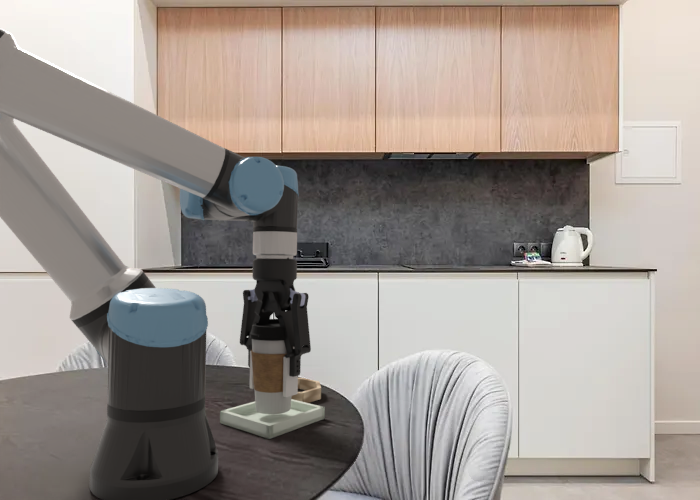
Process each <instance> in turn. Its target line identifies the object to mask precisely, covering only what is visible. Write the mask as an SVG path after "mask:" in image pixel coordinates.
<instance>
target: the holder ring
mask: <svg viewBox="0 0 700 500" xmlns="http://www.w3.org/2000/svg"><path fill="white" fill-rule="evenodd" d="M298 390H302V391H298V394H296V395H293V396H292V397H291V399H293V400H297V401H302V402H306V403H310V404H311V403H313V402H315V401H318V400H321V399H322V386H321V383H320V381H319V380H314V379H309V378H304V377H298Z"/></svg>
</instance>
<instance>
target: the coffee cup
mask: <svg viewBox="0 0 700 500" xmlns="http://www.w3.org/2000/svg"><path fill="white" fill-rule="evenodd" d="M257 324H258V323H256V322H255V323H253V325H252V331H251V332H250V336H249V338H251V339H252V350H251V355H252V367H253V380H254V389H253V390H254V401H255V408H256V411H257V412H259V413H262V414H281V413H285V412H288V411H289V410H290V408H291V397H292V396H289V397H283V358H284V357H285V356H284V355H286V354H287V351H286V347H285V343H284V340H285V333H284V327H282V326H281V327H280V324H279V320H278V318H270V319H269V322H268V324H266V325H261V326H258V325H257ZM293 349H295V348H294V347H293Z"/></svg>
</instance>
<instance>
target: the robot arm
mask: <svg viewBox="0 0 700 500" xmlns="http://www.w3.org/2000/svg"><path fill="white" fill-rule="evenodd" d="M14 119H15V120H16V121H19V122H21V123H24V124H26V125H28V126H30V127H34V128H36V129H38V130H40V131H43V132H46V133H47V134H50V135H53V136H55V137H57V138H60V139H62V140H65V141H67V142H69V143H71V144H73V145H75V146H79V147H81V148H83V149H86V150H88V151H89V152H90V151H91V152H93V153H95V154H98V155H100V156H103V157H105V158H107V159H109V160H112V161H114V162H116V163H118V164H122V165H124V166H126V167H128V168H131V169H133V170H134V171H135V170H136V171H138V172H140V173H143V174H144V175H147V176H150V177H152V178H155V179H156V180H159V181H161V182H164V183H167V184H168V185H171V186H174V187H175V188H178V189H179V205H180V210H181V213H182V214H183V216H184V217H185V218H188V219H194V220H195V219H197V220H202V221H207V220H210V221H229V222H230V221H232V222H233V221H237V222H240V221H241V222H247V223H248V222H252V226H253V229H252V231H253V233H252V255H253V256H255V257H256V258H254V259H253V260H252V279H253V280H254V281H255V282H256V284H255V287H254V288H253V289H243V291H242V298H243V307H242V308H243V309H242V318H241V325H240V326H241V327H240V335H239V337H240V338H239V344H240V345H241V346H245V347H246V350H247V351H248V353H247V354H248V355H247V359H248V360H247V366H248V368H249V389H251V390H254V380H253V367H252V355H251V350H252V339H251V338H249V336H250V332H251V331H252V325H253V323H255V322H256V323H258V324H257V325H258V326H261V325H266V324H268V322H269V319H271V316H272V315H273V314H274V317H275V319H278V320H279V324H280V327H281V326H282V327H284V333H285V340H284V343H285V347H286V351H287V354H286V355H284V356H285V357H284V358H283V397H289V396H293V395H296V394H298V392H299V389H298V378H299V376H300V375H301V363H302V362H301V361H302V360H301V357H302V355H305V354H309V353H310V352H311V349H312V348H311V338H310V326H309V325H310V324H309V315H308V304H309V303H308V301H309V293H307V292H298V291H296V288H295V286H294V281H296V280H297V278H298V276H297V275H298V261H297V259H295V258H294V256H297V254H298V253H297V252H298V251H297V250H298V206H299V205H298V203H299V201H298V200H299V195H300V193H299V182H298V173H297V172H296V170H295V169H293V168H291V167H288V166H285V165H276V164H275V163H274V162H273V161H272V160H269V159H268V158H265V157H262V156H247V157H245V156H243V155H240V154H238V153H237V152H235V151H232V150H229V149H228V148H225V147H223V146H220V145H219V144H217V143H214V142H213V141H211V140H209V139H207V138H204V137H203V136H201V135H198V134H196V133H194V132H192V131H190V130H188V129H186V128H184V127H182V126H180V125H178V124H176V123H174V122H171V121H169V120H168V119H165V118H164V117H162V116H159V115H158V114H156V113H154V112H151V111H149V110H147V109H145V108H143V107H141V106H139V105H137V104H135V103H134V102H131V101H129V100H127V99H125V98H122V97H121V96H118V95H117V94H114V93H112V92H111V91H108V90H106V89H104V88H102V87H100V86H98V85H96V84H94V83H92V82H91V81H88V80H86V79H84V78H82V77H79V76H77V75H75V74H74V73H72V72H70V71H68V70H67V69H66V70H65V68H64V69H63V68H61V67H59V66H58V65H55V64H54V63H51V62H50V61H48V60H45V59H43V58H41V57H39V56H38V55H35V54H33V53H31V52H30V51H27V50H25V49H23V48H21V47H20V46H19V45H18V43H17V41H16V39H15V37H14V35H13V34H12V33H11V32H9V31H8V30H6V29H3V28H1V27H0V218H1V220H2V221H3V222H4V223H5V225H6V226H7V227H8V228H9V230H10V231H11V232H12V233H13V234H14V235H15V237H16V238H17V239H18V240H19V241H20V243H21V244H22V245H23V246H24V248H25V249H26V250H27V251H28V252H29V253H30V255H32V257H33V258H34V259H35V261H36V262H37V263H38V264H39V265H40V266H41V267H42V268H43V270H44V272H46V273H47V275H49V277H50V278H51V279H52V280H53V282H54V283H55V284H56V285H57V287H58V288H59V289H60V291H62V293H63V294H64V295H65V296H66V297H67V299H69V301H70V302H71V305H70V306H71V307H70V313H69V320H70V321H71V322H72V323H73V324H74V325H75V326H76V327H77V329H78V330H79V331H80V332H81V333H82V335H83V337H85V338H86V339H87V341H89V343H90V344H91V346H92V347H93V348H94V350H96V352H97V354H98V355H99V356H100V357H101V358H102V359H103V360H104V361H105V362H106V364H107V396H106V397H107V399H106V400H107V401H106V402H107V403H106V404H107V406H106V407H107V408H106V423H105V425H104V427H103V431H102V434H101V437H100V439H99V443H98V445H97V448H96V451H95V454H94V457H93V459H92V463H91V465H90V469H89V491H90V493H92V495H94V496H95V497H96V498H98V499H100V500H174V499H178V498H181V497H185V496H188V495H190V494H193V493H195V492H198V491H199V490H201V489H202V488H205V487H206V486H207V485H209V484H210V483H212V481H213V480H215V478H216V477H217V475H218V472H219V451H218V448H217V446H216V442H215V440H214V435H213V433H212V430H211V426H210V424H209V420H208V418H207V414H206V379H207V378H206V375H207V374H206V373H207V370H206V367H207V364H206V363H207V329H208V327H209V320H208V316H207V315H208V314H207V306H206V302H205V299H204V298H203V297H201V295H199V294H197V293H195V292H192V291H190V290H189V291H188V290H180V289H177V288H167V287H166V288H165V287H164V288H163V287H156V286H155V285H154V283H153V282H152V281H151V279H150V278H149V277H148V276H147V274H146V273H145V272H144V271H143V269H142V268H137V267H130V266H127V265H125V263H123V261H122V259H120V257H119V256H118V255H117V253H116V252H115V251H114V250H113V248H112V247H111V245H110V244H109V243H108V242H107V240H106V239H105V238H104V237H103V236H102V234H101V233H100V231H99V230H98V229H97V227H96V226H95V225H94V224H93V223H92V221H91V220H90V219H89V217H88V216H87V215H86V213H85V212H84V211H83V209H81V207H80V206H79V205H78V203H77V202H76V201H75V200H74V198H73V197H72V196H71V194H70V193H69V192H68V190H67V189H66V188H65V187H64V186H63V184H62V183H61V182H60V181H59V179H58V178H57V176H56V175H55V173H53V171H52V170H51V169H50V167H49V166H48V165H47V163H45V161H44V159H43V158H42V157H41V156H40V155H39V153H38V152H37V151H36V150H35V148H34V147H33V146H32V145H31V143H30V142H29V141H28V139H27V138H26V137H25V135H24V134H23V133H22V132H21V130H20V129H19V128H18V126H17V125H16V123H15V122H14V121H15V120H14ZM293 347H294V348H295V349H293Z"/></svg>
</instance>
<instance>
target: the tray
mask: <svg viewBox="0 0 700 500" xmlns="http://www.w3.org/2000/svg"><path fill="white" fill-rule="evenodd" d="M325 411H326V410H325V406H322V405H317V404H313V403H311V402H310V403H306V402H302V401H297V400H293V399H291V408H290V410H289V411H288V412H285V413H281V414H262V413H259V412H257V411H256V408H255V400H254V401H250V402H247V403H244V404H240V405H237V406H233V407H229V408H227V409H226V408H225V409H222V410H220V411H219V424H222V425H224V426H228V427H231V428H234V429H236V430H241V431H243V432H247V433H250V434H253V435H256V436H259V437H262V438H265V439H269V440H270V439H274V438H276V437H279V436H282V435H284V434H287V433H289V432H292V431H295V430H297V429H300V428H303V427H306V426H308V425H311V424H314V423H317V422H319V421H322V420H324V419H325V417H326V416H325V414H326V413H325Z"/></svg>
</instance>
